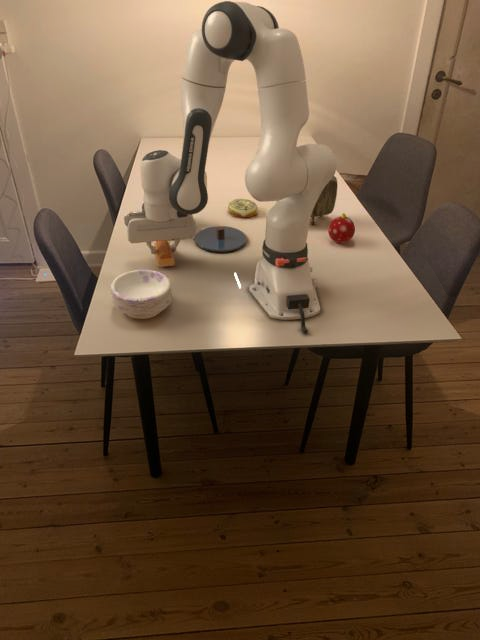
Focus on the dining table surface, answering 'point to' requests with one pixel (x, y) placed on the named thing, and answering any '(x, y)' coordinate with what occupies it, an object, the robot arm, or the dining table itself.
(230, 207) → the decorated donut
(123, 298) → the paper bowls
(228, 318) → the dining table surface
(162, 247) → the orange rounded bar
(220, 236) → the crock lid
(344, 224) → the christmas ornament
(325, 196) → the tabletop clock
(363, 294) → the dining table surface
